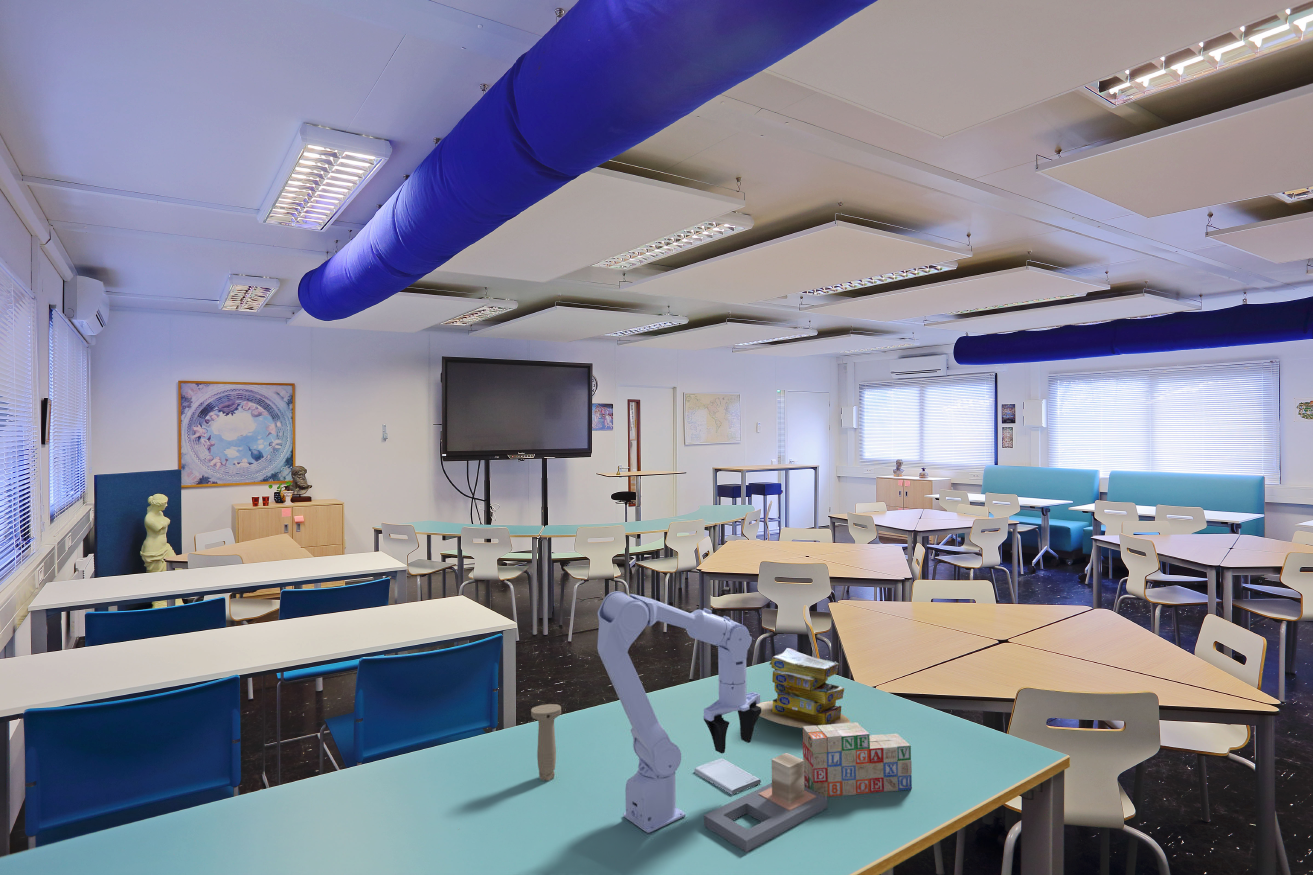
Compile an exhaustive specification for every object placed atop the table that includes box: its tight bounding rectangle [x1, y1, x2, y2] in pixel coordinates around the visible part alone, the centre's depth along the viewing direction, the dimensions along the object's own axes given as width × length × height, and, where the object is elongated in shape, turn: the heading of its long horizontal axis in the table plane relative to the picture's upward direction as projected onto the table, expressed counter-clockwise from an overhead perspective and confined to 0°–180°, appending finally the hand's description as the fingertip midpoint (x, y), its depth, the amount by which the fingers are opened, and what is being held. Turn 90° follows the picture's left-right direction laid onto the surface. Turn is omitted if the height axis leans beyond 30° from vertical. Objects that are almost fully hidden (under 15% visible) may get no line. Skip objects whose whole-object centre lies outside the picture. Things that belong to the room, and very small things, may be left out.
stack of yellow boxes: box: [756, 647, 851, 729], centre depth 177 cm, size 25×25×17 cm
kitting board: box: [703, 782, 828, 853], centre depth 132 cm, size 23×11×2 cm, turn 129°
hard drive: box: [694, 758, 762, 796], centre depth 148 cm, size 2×8×12 cm
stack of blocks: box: [801, 721, 913, 797], centre depth 144 cm, size 21×6×12 cm, turn 97°
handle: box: [530, 703, 562, 782], centre depth 148 cm, size 5×6×15 cm
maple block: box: [771, 752, 805, 803], centre depth 136 cm, size 4×4×7 cm
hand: (733, 746), depth 141 cm, fingers open, 7 cm apart
